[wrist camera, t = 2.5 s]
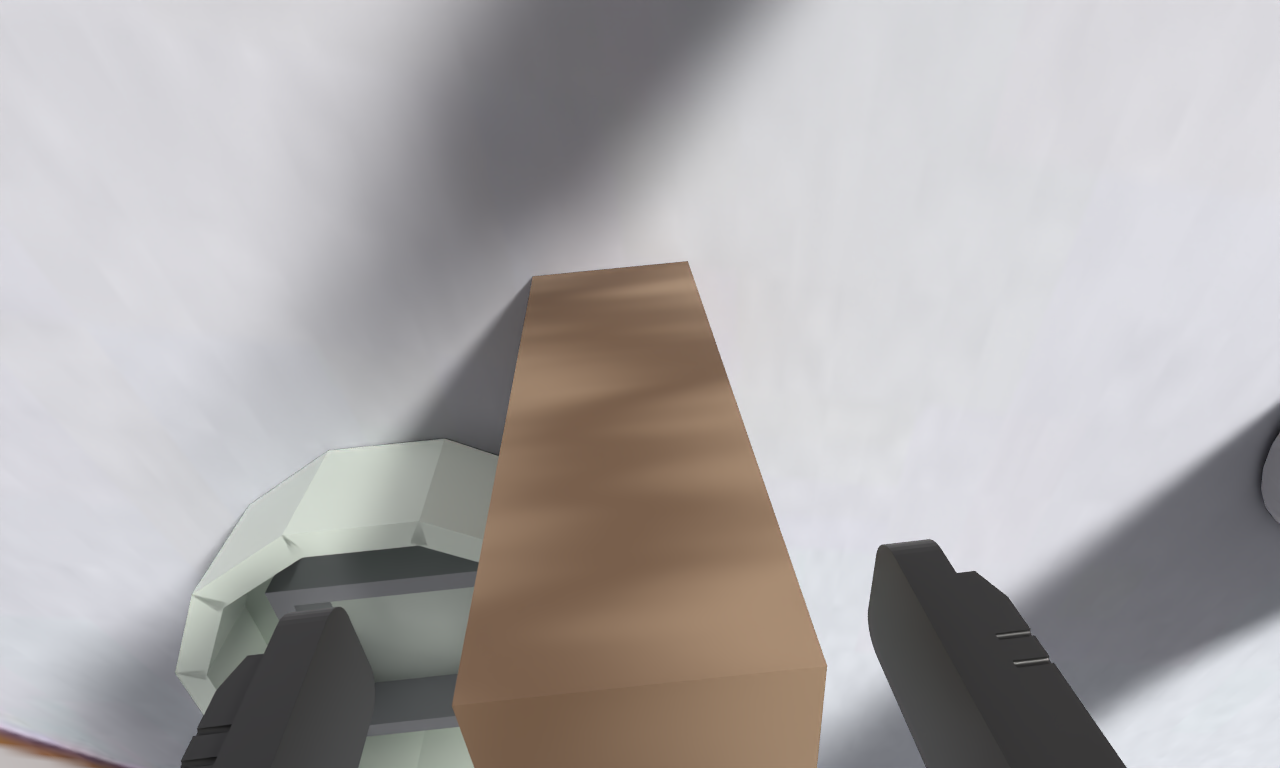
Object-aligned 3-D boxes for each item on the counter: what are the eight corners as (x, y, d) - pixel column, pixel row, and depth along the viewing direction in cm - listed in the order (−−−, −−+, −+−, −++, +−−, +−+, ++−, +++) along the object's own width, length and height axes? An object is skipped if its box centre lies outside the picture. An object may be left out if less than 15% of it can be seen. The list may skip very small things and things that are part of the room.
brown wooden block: (687, 261, 18) (827, 666, 7) (693, 392, 20) (807, 852, 9) (532, 276, 17) (451, 705, 7) (554, 406, 20) (516, 885, 9)
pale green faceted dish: (602, 422, 20) (604, 501, 17) (637, 690, 26) (643, 781, 23) (169, 466, 20) (93, 554, 17) (311, 724, 26) (275, 821, 23)
